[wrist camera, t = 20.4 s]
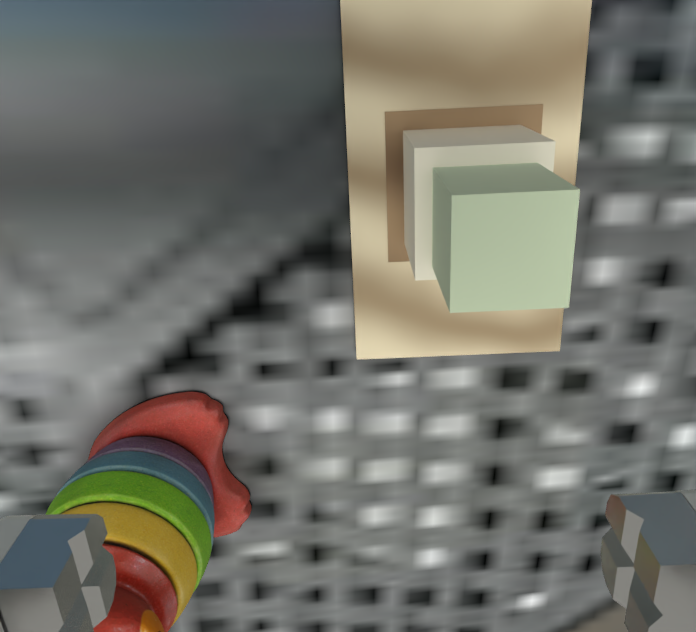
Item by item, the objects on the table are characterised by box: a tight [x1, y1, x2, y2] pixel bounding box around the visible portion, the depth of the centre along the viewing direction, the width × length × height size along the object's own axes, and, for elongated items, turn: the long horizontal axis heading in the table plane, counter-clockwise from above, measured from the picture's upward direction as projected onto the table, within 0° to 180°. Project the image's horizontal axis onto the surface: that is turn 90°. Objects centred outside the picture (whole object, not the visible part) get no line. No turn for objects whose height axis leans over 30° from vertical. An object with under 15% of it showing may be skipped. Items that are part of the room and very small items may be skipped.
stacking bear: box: [46, 392, 251, 632], centre depth 34 cm, size 11×10×18 cm
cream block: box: [403, 125, 556, 281], centre depth 31 cm, size 6×6×6 cm
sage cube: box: [432, 163, 580, 313], centre depth 26 cm, size 4×4×6 cm
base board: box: [340, 0, 592, 359], centre depth 35 cm, size 20×12×1 cm, turn 3°
